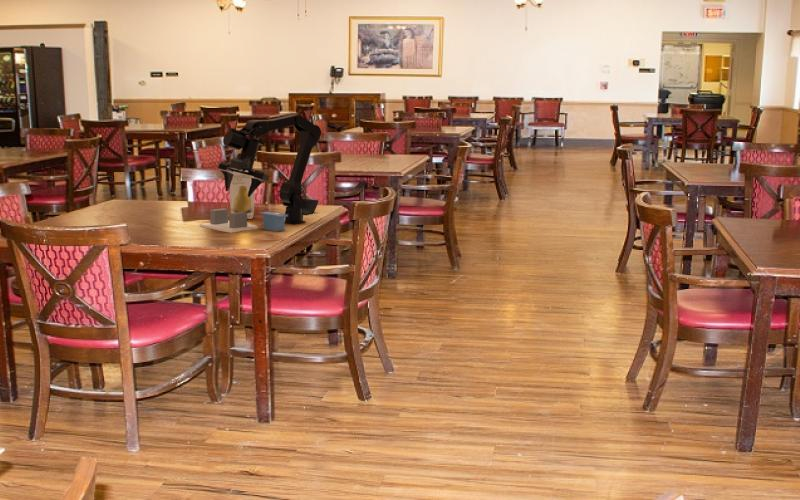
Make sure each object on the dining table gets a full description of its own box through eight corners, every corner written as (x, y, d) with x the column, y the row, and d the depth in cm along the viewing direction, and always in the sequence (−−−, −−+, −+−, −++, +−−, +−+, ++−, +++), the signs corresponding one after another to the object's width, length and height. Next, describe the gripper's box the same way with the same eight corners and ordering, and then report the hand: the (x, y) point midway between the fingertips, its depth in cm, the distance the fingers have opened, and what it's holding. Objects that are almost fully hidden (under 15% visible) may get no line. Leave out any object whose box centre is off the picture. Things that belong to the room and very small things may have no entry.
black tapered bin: (282, 210, 366) (292, 189, 370) (287, 218, 372) (296, 198, 376) (307, 216, 362) (316, 195, 366) (312, 224, 369) (321, 204, 372)
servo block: (268, 227, 335) (268, 210, 333) (288, 230, 328) (288, 213, 326) (259, 228, 331) (259, 211, 330) (279, 232, 324) (279, 215, 323)
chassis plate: (227, 222, 341) (227, 206, 340) (257, 228, 330) (257, 212, 329) (199, 226, 332) (199, 210, 330) (230, 232, 320) (230, 216, 319)
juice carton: (231, 219, 348) (230, 159, 343) (229, 216, 356) (228, 157, 351) (255, 219, 351) (254, 159, 346) (252, 216, 358) (252, 157, 353)
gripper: (216, 143, 321) (205, 185, 321) (261, 154, 316) (250, 196, 316) (230, 149, 332) (219, 189, 332) (274, 160, 327) (263, 200, 327)
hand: (237, 193), depth 326 cm, fingers open, 9 cm apart
